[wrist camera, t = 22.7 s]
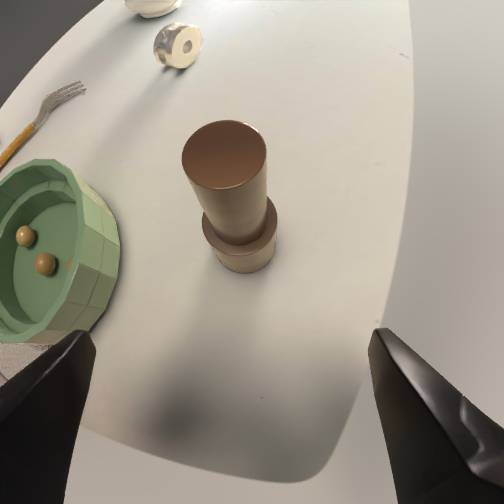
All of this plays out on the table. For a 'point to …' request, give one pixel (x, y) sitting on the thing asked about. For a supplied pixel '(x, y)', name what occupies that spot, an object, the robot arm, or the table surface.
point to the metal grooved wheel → (177, 45)
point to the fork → (40, 117)
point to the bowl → (53, 254)
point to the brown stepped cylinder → (233, 193)
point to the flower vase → (152, 7)
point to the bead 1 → (25, 236)
